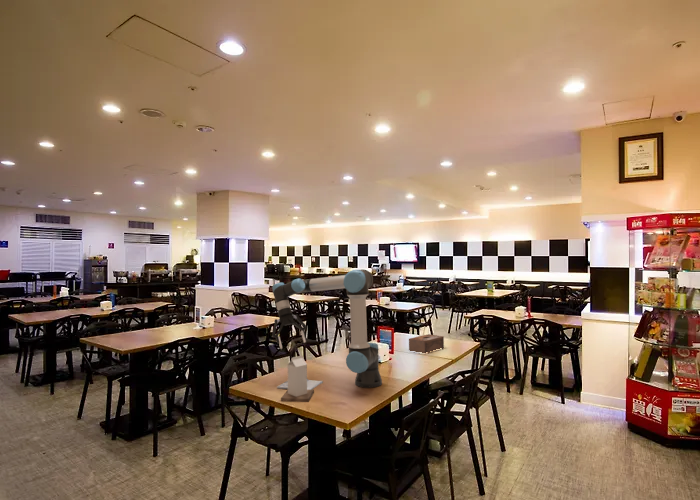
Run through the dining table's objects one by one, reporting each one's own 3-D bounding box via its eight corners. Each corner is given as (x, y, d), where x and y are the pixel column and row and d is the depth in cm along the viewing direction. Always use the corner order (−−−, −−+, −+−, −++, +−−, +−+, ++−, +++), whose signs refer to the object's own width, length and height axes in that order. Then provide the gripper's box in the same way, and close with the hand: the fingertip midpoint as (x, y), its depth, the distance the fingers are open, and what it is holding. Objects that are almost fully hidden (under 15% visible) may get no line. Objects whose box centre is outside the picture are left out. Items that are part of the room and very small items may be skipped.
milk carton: (307, 393, 203) (306, 356, 203) (296, 397, 198) (295, 359, 198) (298, 390, 208) (298, 354, 208) (287, 394, 203) (287, 356, 203)
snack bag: (293, 379, 234) (293, 376, 234) (324, 383, 227) (324, 379, 227) (275, 389, 217) (275, 385, 217) (308, 393, 209) (308, 389, 209)
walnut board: (314, 392, 209) (313, 389, 209) (308, 401, 195) (308, 398, 195) (288, 392, 210) (288, 389, 210) (280, 401, 196) (280, 398, 196)
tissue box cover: (424, 354, 293) (424, 341, 293) (409, 351, 303) (408, 338, 303) (443, 349, 311) (443, 336, 311) (428, 346, 321) (428, 334, 321)
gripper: (303, 306, 235) (312, 341, 228) (261, 315, 225) (270, 352, 219) (306, 302, 229) (315, 338, 222) (263, 312, 219) (272, 349, 212)
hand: (293, 345), depth 220 cm, fingers open, 13 cm apart
